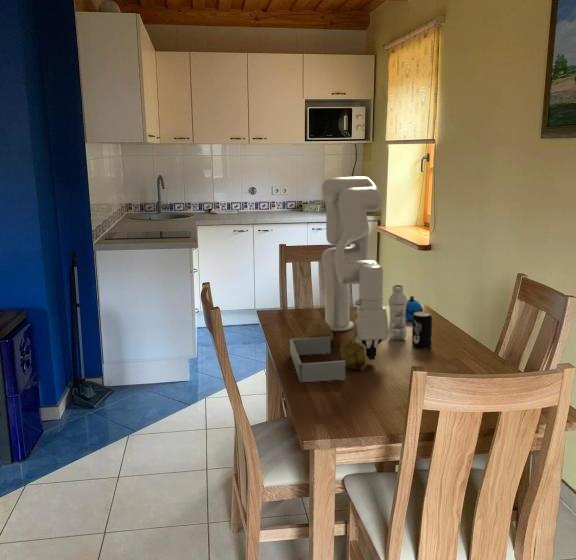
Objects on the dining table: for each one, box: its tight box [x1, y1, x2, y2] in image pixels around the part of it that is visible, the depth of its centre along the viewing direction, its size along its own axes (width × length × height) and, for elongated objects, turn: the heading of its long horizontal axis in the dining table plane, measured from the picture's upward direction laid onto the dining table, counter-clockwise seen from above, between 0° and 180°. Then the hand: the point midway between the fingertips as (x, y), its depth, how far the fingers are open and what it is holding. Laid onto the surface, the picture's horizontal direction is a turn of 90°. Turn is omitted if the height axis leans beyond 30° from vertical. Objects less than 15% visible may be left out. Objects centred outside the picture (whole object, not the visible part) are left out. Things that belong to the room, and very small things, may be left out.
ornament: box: [405, 295, 424, 322], centre depth 225 cm, size 9×9×10 cm
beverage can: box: [411, 310, 433, 350], centre depth 194 cm, size 7×7×12 cm
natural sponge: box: [306, 318, 334, 342], centre depth 199 cm, size 9×9×10 cm
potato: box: [339, 337, 366, 371], centre depth 180 cm, size 8×13×8 cm, turn 171°
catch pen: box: [289, 336, 346, 383], centre depth 179 cm, size 24×14×6 cm, turn 7°
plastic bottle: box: [388, 284, 408, 341], centre depth 202 cm, size 6×7×20 cm
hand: (371, 358), depth 181 cm, fingers closed
